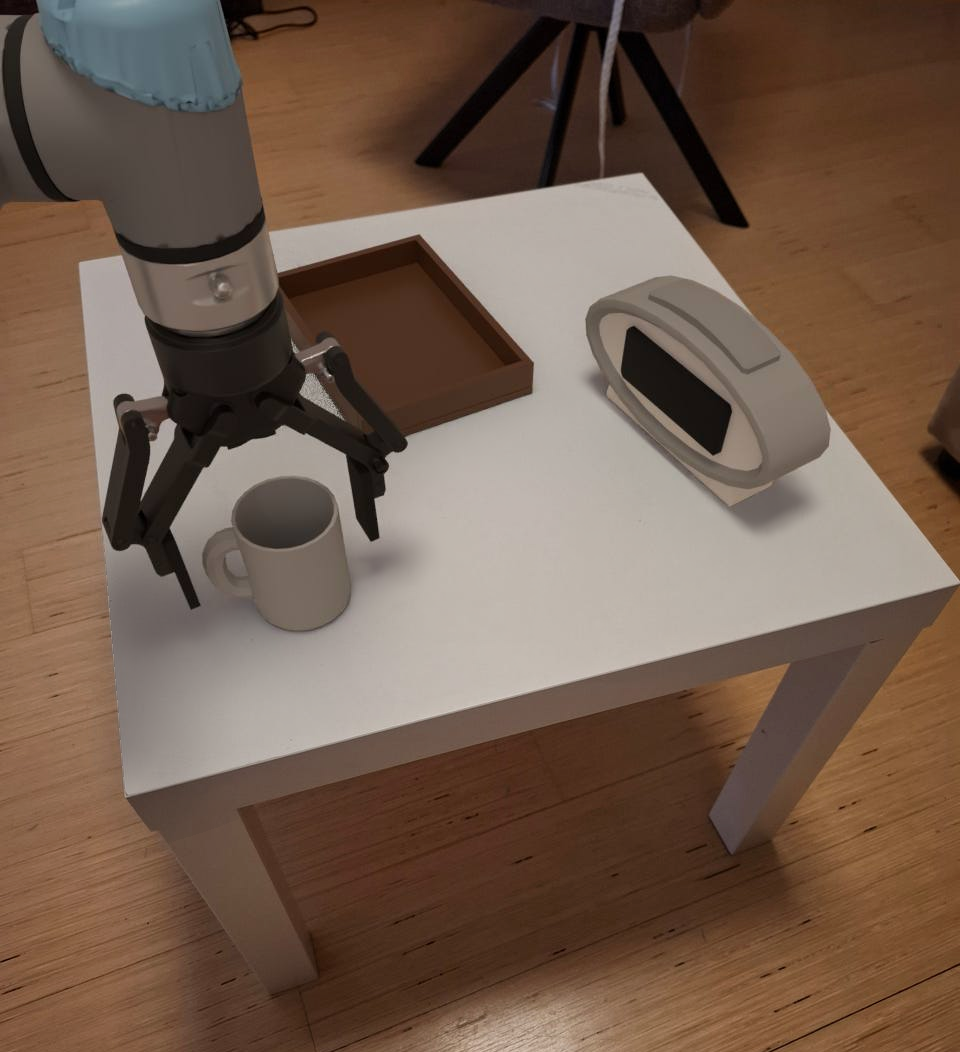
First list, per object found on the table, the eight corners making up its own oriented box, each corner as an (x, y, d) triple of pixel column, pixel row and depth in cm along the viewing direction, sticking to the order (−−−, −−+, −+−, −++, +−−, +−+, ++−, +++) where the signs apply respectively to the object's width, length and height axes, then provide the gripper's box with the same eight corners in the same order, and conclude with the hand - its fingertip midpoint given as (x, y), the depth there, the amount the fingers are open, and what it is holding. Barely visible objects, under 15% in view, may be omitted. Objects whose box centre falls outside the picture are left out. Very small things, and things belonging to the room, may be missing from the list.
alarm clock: (577, 379, 87) (590, 251, 76) (630, 357, 89) (650, 229, 78) (748, 535, 75) (791, 408, 65) (805, 506, 77) (855, 378, 67)
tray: (270, 306, 93) (263, 276, 91) (421, 263, 98) (419, 233, 95) (364, 450, 81) (360, 419, 78) (532, 393, 85) (534, 362, 83)
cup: (357, 625, 69) (344, 542, 62) (220, 647, 68) (190, 566, 61) (345, 553, 74) (331, 469, 66) (216, 574, 72) (187, 489, 65)
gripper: (-13, 410, 46) (124, 664, 63) (448, 272, 52) (458, 534, 69) (-39, 328, 50) (96, 587, 67) (392, 209, 56) (415, 472, 73)
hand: (281, 561), depth 68 cm, fingers open, 13 cm apart
